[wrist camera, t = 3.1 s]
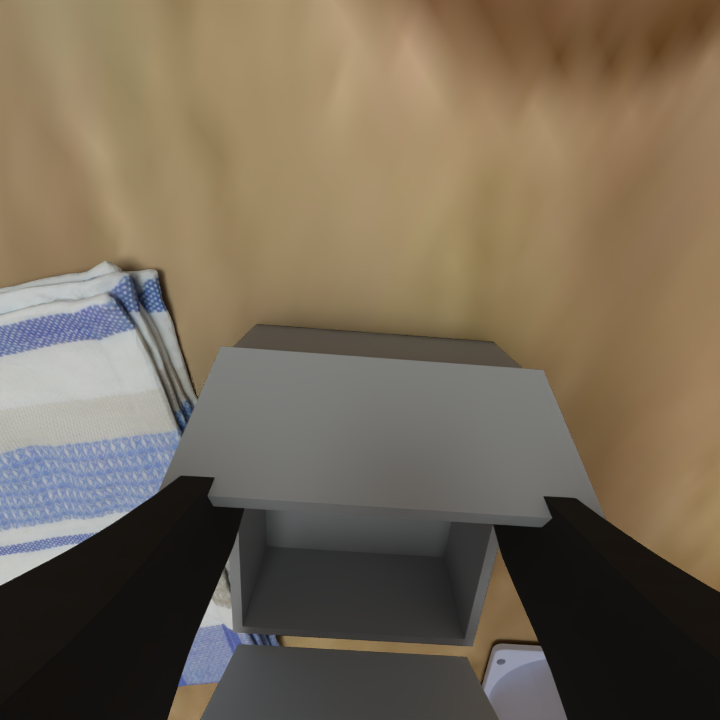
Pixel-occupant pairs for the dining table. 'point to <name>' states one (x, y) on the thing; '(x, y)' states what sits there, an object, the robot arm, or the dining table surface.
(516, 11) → the dining table surface
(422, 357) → the carton
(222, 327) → the dining table surface
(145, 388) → the dish towel
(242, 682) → the far flap
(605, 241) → the dining table surface
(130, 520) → the robot arm
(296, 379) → the near flap
